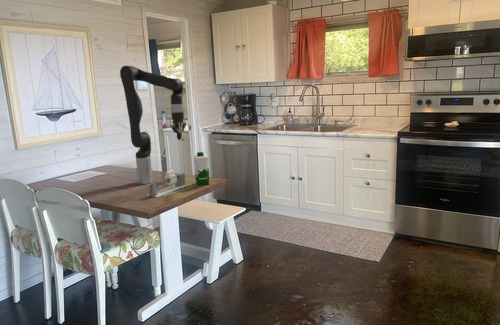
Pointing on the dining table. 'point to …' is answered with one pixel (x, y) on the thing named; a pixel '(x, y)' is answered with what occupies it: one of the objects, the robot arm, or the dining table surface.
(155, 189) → the cord rig
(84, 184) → the dining table surface
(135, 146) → the robot arm
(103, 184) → the dining table surface
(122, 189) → the dining table surface
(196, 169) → the milk carton
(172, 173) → the cream stepped block
